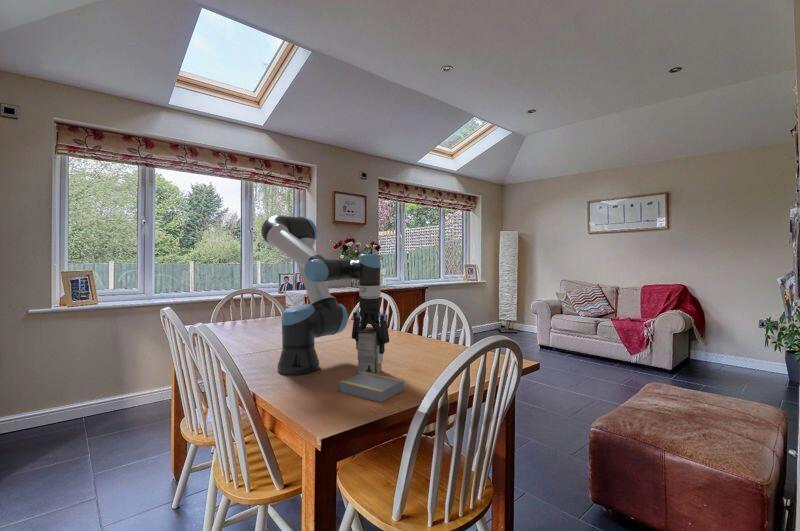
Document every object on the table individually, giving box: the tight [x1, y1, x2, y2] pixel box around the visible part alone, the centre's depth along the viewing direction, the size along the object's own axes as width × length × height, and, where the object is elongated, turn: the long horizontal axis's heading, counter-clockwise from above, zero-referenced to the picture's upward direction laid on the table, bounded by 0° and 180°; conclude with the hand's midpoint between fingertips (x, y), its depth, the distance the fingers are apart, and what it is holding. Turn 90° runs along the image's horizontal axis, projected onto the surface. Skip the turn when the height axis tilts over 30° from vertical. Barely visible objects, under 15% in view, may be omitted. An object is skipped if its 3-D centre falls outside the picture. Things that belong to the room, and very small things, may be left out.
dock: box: [337, 372, 405, 403], centre depth 120 cm, size 17×12×3 cm
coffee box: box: [357, 326, 383, 375], centre depth 136 cm, size 9×6×16 cm
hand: (370, 360), depth 137 cm, fingers closed on coffee box, 8 cm apart
